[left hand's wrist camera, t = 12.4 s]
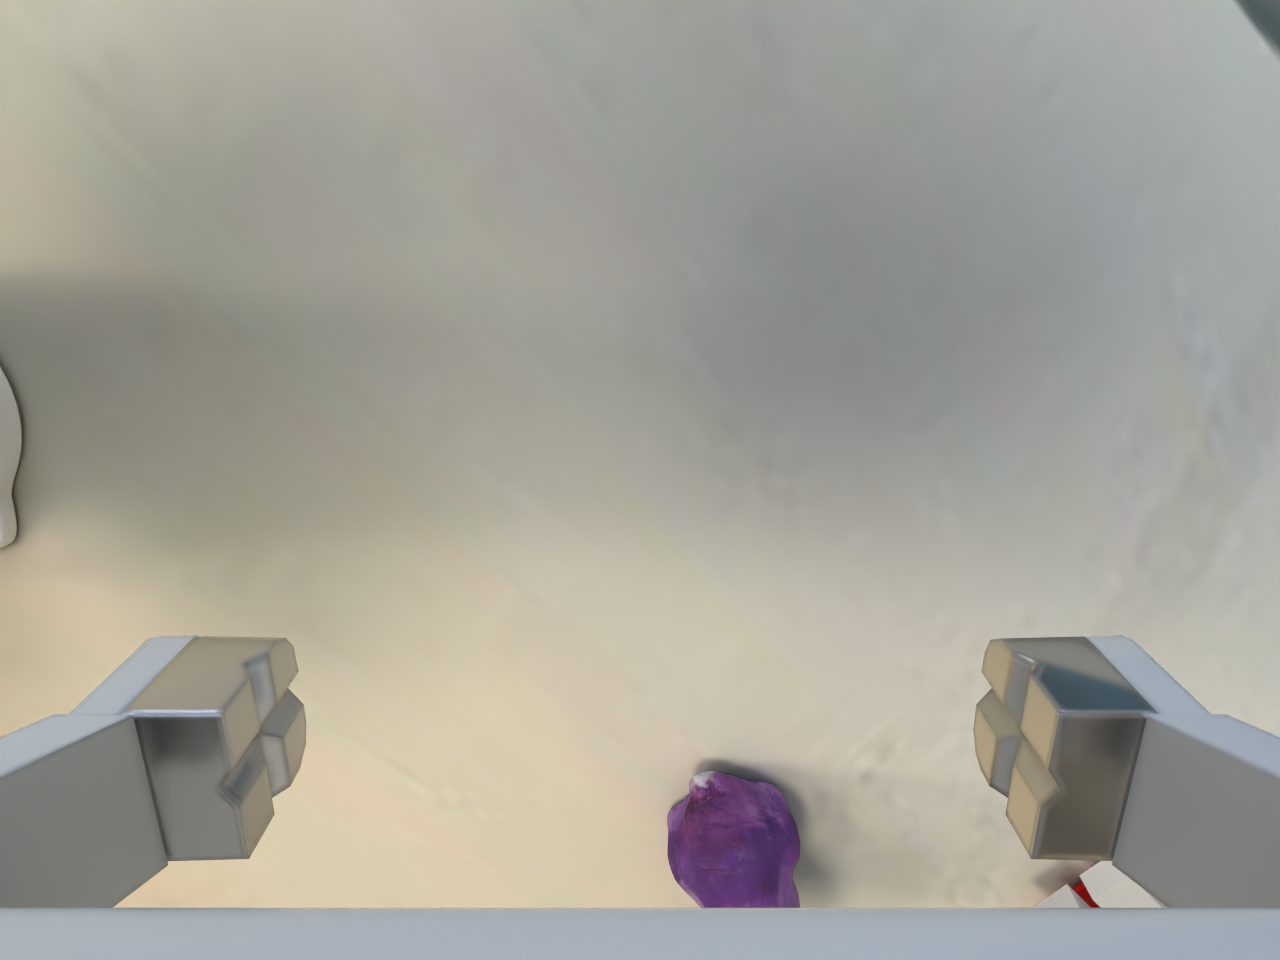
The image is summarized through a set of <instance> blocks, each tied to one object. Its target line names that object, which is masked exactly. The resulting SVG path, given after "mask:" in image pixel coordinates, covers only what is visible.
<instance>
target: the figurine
mask: <svg viewBox="0 0 1280 960" xmlns="http://www.w3.org/2000/svg"><path fill="white" fill-rule="evenodd" d="M689 789H690V794H689V796H687V797H686V798H685V800H683V801H682V802H680V803H679V804H677V805H676V806H674V807H673V808H672V809H671V810H670V811H669V813H668V817H667V824H668V859H669V864H670V867H671V871H672V873H673V875H674V878H675V880H676V881H677V883H678V884H679V885H680V886H681V887H682V889H683V890H684V891H685V892H686V893H687V894H688V895H689V896H690V897H691V898H693V899H694V900H695V901H696V903H697V904H698V905H699V906H700V907H701V908H800V903H799V895H798V892H797V889H796V886H795V883H794V881H793V872H794V868H795V866H796V864H797V862H798V860H799V855H800V840H799V834H798V830H797V826H796V823H795V821H794V818H793V816H792V814H791V812H790V810H789V808H788V806H787V802H786V800H785V798H784V796H783V794H782V792H781V790H780V789H778V788H777V787H776V786H775V785H773V784H769V783H765V782H754V781H750V780H746V779H742V778H739V777H736V776H732V775H728V774H725V773H721V772H718V771H713V770H712V771H703V772H699V773H697V774H695V775H694V776H693V777H692V778H691V779H690V788H689Z"/></svg>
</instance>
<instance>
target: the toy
mask: <svg viewBox="0 0 1280 960" xmlns="http://www.w3.org/2000/svg"><path fill="white" fill-rule="evenodd" d="M1079 876H1080V878H1081V880H1082V882H1081V883H1079V884H1078V885H1077V886H1075V887H1074V888H1071V887H1069V886H1068V885H1067V884H1066V885H1065V886H1063V887H1062V888H1060V889H1059V890H1057V891H1056V892H1054V893H1053V894H1051V895H1050V896H1048V897H1047V898H1045V899H1044V900H1043V901H1041V902H1040V903H1038V904H1037V905H1035V906H1034V907H1033V908H1168V907H1166V906H1165V905H1164V904H1162V903H1161V902H1160V901H1159V900H1157V899H1156V898H1155V897H1153V896H1152V895H1151V894H1149V893H1148V892H1147V891H1145V890H1144V889H1143V888H1142V887H1140V886H1139V885H1138V884H1136V883H1135V882H1134V881H1132V880H1131V879H1130V878H1129V877H1127V876H1126V875H1125V874H1123V873H1122V872H1121V871H1119V870H1118V869H1117V868H1115V867H1114V866H1113V865H1112V861H1100V862H1099V863H1097V864H1096V865H1094V866H1093V867H1091V868H1090V869H1088V870H1087V871H1085V872H1084V873H1082V874H1081V875H1079Z"/></svg>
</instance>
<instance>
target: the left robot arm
mask: <svg viewBox="0 0 1280 960" xmlns="http://www.w3.org/2000/svg"><path fill="white" fill-rule="evenodd" d="M21 448H22V429H21V421H20V415H19V410H18V406H17V403H16V400H15V397H14V394H13V391H12V389H11V386H10V384H9V382H8V380H7V378H6V376H5V374H4V372H3V370H2V369H1V367H0V548H2V547H5V546H7V545H9V544H10V543H12V542H13V541H14V539H15V537H16V533H17V523H16V515H15V509H14V504H13V499H12V487H13V482H14V478H15V475H16V471H17V468H18V465H19V460H20V455H21ZM297 673H298V667H297V662H296V657H295V651H294V647H293V645H292V644H291V643H290V642H289V641H288V640H287V639H286V638H261V637H208V636H203V637H199V636H160V637H153V638H149V639H148V640H147V641H146V642H144V643H143V644H142V645H141V646H140V647H139V648H138V649H137V650H136V651H135V652H134V653H133V654H132V655H131V656H130V657H129V658H128V659H127V660H125V661H124V662H123V663H122V664H121V665H120V666H119V667H118V668H117V669H116V670H115V671H114V672H113V673H112V674H111V675H110V676H109V677H107V678H106V679H105V680H104V681H103V682H102V683H101V684H100V685H99V686H98V687H97V688H96V689H95V690H94V691H93V692H92V693H91V694H90V695H88V696H87V697H86V698H85V699H84V700H83V701H82V702H81V703H80V704H79V705H78V706H77V707H76V708H75V709H74V710H73V711H72V712H70V713H69V714H68V715H52V716H49V717H47V718H45V719H42V720H40V721H38V722H35V723H33V724H31V725H28V726H26V727H23V728H21V729H19V730H16V731H14V732H12V733H9V734H7V735H5V736H2V737H0V960H1280V737H1278V736H1275V735H1273V734H1271V733H1268V732H1266V731H1264V730H1261V729H1259V728H1256V727H1254V726H1252V725H1249V724H1247V723H1245V722H1242V721H1240V720H1238V719H1235V718H1233V717H1231V716H1228V715H1212V714H1211V713H1210V712H1209V711H1207V710H1206V709H1205V708H1204V707H1203V706H1202V705H1201V704H1200V703H1199V702H1198V701H1197V700H1196V699H1195V698H1194V697H1193V696H1192V695H1191V694H1190V693H1188V692H1187V691H1186V690H1185V689H1184V688H1183V687H1182V686H1181V685H1180V684H1179V683H1178V682H1177V681H1176V680H1175V679H1174V678H1173V677H1172V676H1171V675H1170V674H1168V673H1167V672H1166V671H1165V670H1164V669H1163V668H1162V667H1161V666H1160V665H1159V664H1158V663H1157V662H1156V661H1155V660H1154V659H1153V658H1152V657H1151V656H1150V655H1148V654H1147V653H1146V652H1145V651H1144V650H1143V649H1142V648H1141V647H1140V646H1139V645H1138V644H1137V643H1136V642H1135V641H1134V640H1133V639H1130V638H1127V637H1124V636H1121V635H1116V636H1092V637H1047V638H1006V639H994V640H990V642H989V645H988V647H987V649H986V651H985V654H984V660H983V666H982V673H983V674H984V676H985V678H986V679H987V681H988V682H989V684H990V685H991V687H992V689H991V690H990V691H989V692H988V693H987V694H986V695H985V696H984V697H983V698H982V699H981V700H980V701H979V702H978V703H977V704H976V712H975V720H974V729H973V730H974V740H975V750H976V756H977V759H978V762H979V765H980V768H981V771H982V773H983V775H984V776H985V778H986V780H987V782H988V784H989V786H990V787H992V788H993V789H995V790H997V791H998V792H1000V793H1001V794H1003V795H1004V796H1006V797H1007V798H1008V802H1007V808H1006V816H1007V818H1008V819H1009V821H1010V823H1011V825H1012V826H1013V828H1014V830H1015V832H1016V833H1017V835H1018V837H1019V838H1020V840H1021V842H1022V844H1023V845H1024V847H1025V849H1026V851H1027V852H1028V854H1029V856H1030V858H1031V859H1054V860H1090V861H1112V865H1113V866H1114V867H1115V868H1117V869H1118V870H1119V871H1121V872H1122V873H1123V874H1125V875H1126V876H1127V877H1129V878H1130V879H1131V880H1132V881H1134V882H1135V883H1136V884H1138V885H1139V886H1140V887H1142V888H1143V889H1144V890H1145V891H1147V892H1148V893H1149V894H1151V895H1152V896H1153V897H1155V898H1156V899H1157V900H1159V901H1160V902H1161V903H1162V904H1164V905H1165V906H1166V907H1168V908H113V907H114V906H115V905H117V904H118V903H119V902H120V901H122V900H123V899H124V898H126V897H127V896H128V895H130V894H131V893H132V892H134V891H135V890H136V889H137V888H139V887H140V886H141V885H143V884H144V883H145V882H147V881H148V880H149V879H150V878H152V877H153V876H154V875H156V874H157V873H158V872H160V871H161V870H162V869H164V868H165V867H166V866H167V865H168V862H167V861H189V860H224V859H249V858H250V856H251V854H252V853H253V851H254V849H255V847H256V846H257V844H258V842H259V840H260V839H261V837H262V835H263V833H264V832H265V830H266V828H267V826H268V825H269V823H270V821H271V819H272V818H273V816H274V808H273V802H272V798H273V797H274V796H276V795H277V794H279V793H280V792H282V791H283V790H285V789H287V788H288V787H290V786H291V784H292V782H293V780H294V778H295V776H296V774H297V773H298V771H299V769H300V766H301V761H302V757H303V753H304V749H305V745H306V718H305V711H304V704H303V703H302V702H301V701H300V700H299V699H298V698H297V697H296V696H295V695H294V694H293V693H292V692H291V691H290V690H289V689H288V687H289V685H290V684H291V682H292V681H293V679H294V678H295V676H296V674H297Z"/></svg>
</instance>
